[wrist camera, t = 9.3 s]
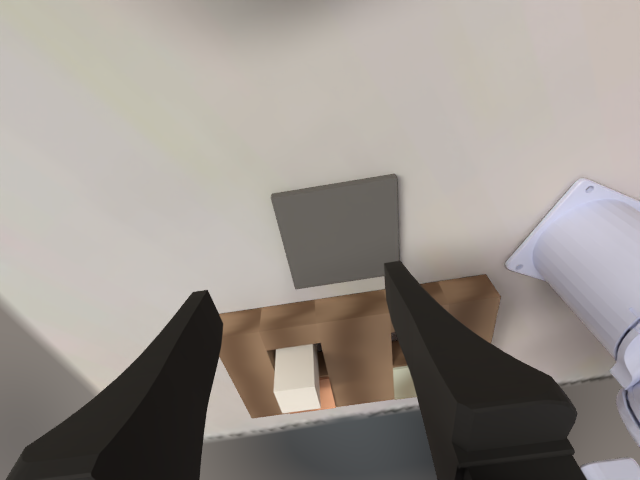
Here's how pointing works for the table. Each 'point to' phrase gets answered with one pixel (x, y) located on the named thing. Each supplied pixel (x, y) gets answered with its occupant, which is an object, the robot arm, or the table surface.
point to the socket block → (342, 343)
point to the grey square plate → (339, 230)
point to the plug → (297, 378)
